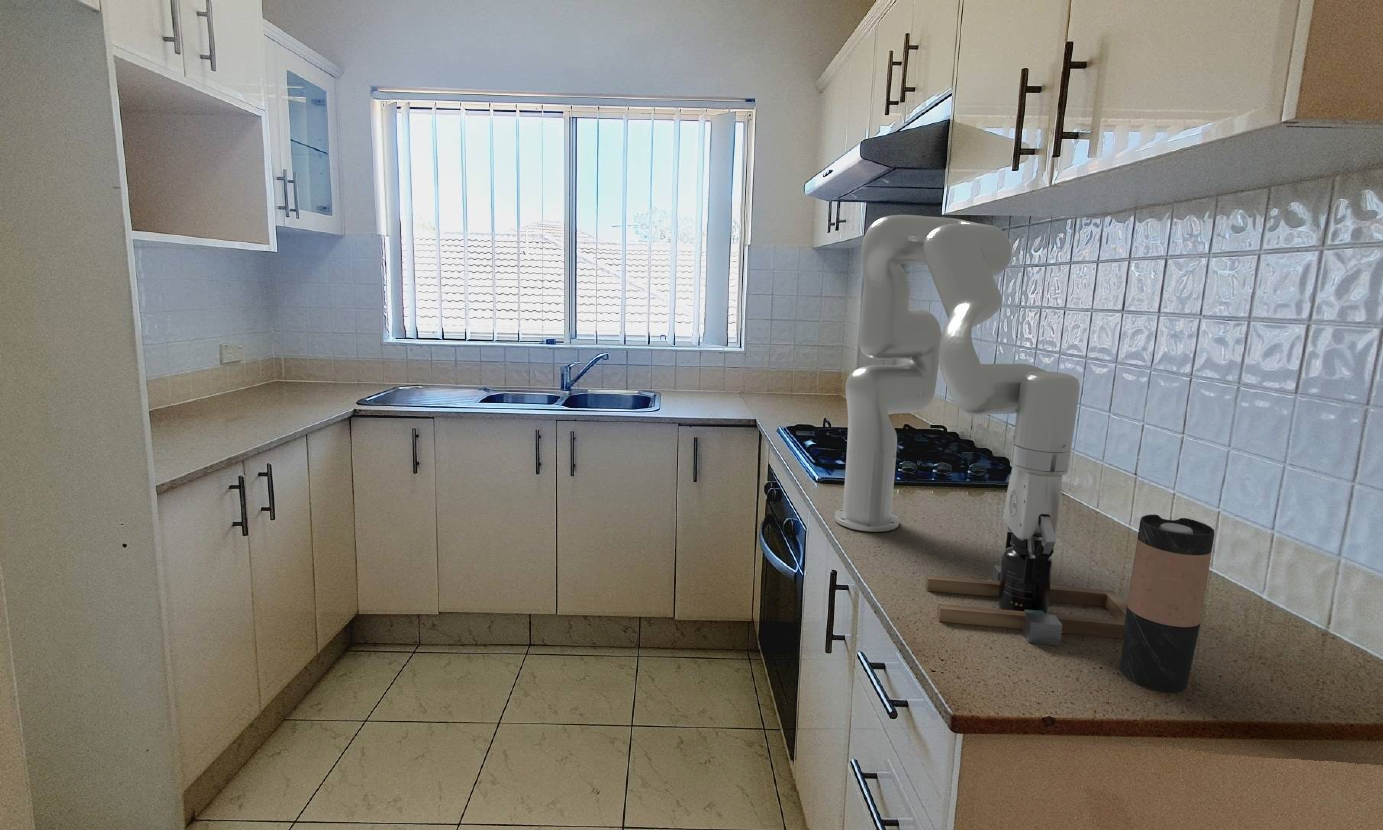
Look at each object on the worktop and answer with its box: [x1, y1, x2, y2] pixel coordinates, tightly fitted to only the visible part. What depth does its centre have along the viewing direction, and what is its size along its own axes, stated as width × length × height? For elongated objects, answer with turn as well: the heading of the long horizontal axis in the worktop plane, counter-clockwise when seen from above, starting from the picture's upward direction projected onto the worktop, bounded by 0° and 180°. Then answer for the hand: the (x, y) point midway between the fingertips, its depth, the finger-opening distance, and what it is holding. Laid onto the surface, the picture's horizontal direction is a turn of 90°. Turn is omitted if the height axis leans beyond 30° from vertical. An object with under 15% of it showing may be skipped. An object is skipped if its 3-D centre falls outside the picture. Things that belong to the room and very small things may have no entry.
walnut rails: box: [925, 574, 1127, 639], centre depth 107 cm, size 12×28×2 cm, turn 81°
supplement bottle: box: [997, 531, 1054, 614], centre depth 106 cm, size 7×7×12 cm
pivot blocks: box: [991, 564, 1063, 647], centre depth 107 cm, size 20×4×3 cm, turn 171°
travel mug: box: [1119, 513, 1215, 694], centre depth 88 cm, size 8×8×20 cm
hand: (1024, 570), depth 106 cm, fingers open, 9 cm apart
